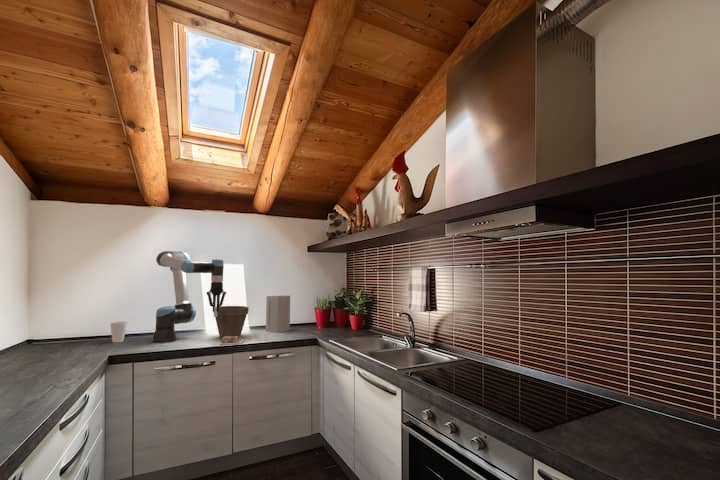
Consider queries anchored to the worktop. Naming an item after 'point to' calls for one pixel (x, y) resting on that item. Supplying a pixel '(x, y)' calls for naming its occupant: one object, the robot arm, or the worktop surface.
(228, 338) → the t block
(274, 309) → the grey faceted cylinder
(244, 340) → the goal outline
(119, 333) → the foam cup
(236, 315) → the plant pot
